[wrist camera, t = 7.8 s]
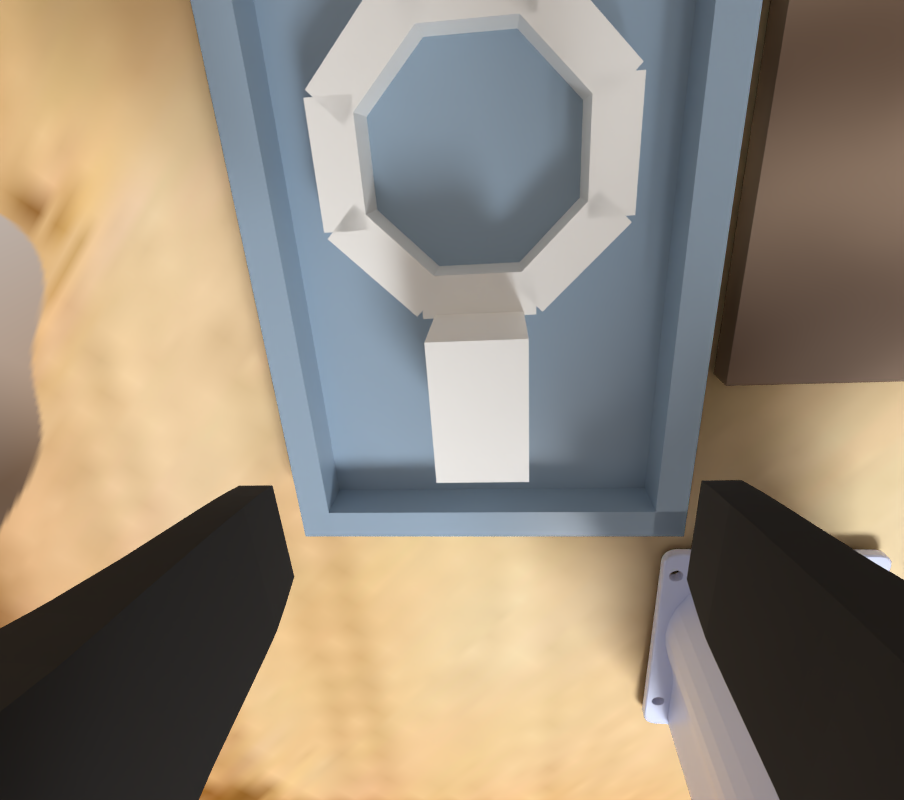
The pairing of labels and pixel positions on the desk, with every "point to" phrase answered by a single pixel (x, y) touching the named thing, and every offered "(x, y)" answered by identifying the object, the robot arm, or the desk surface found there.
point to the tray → (485, 242)
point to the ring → (477, 285)
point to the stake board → (821, 203)
